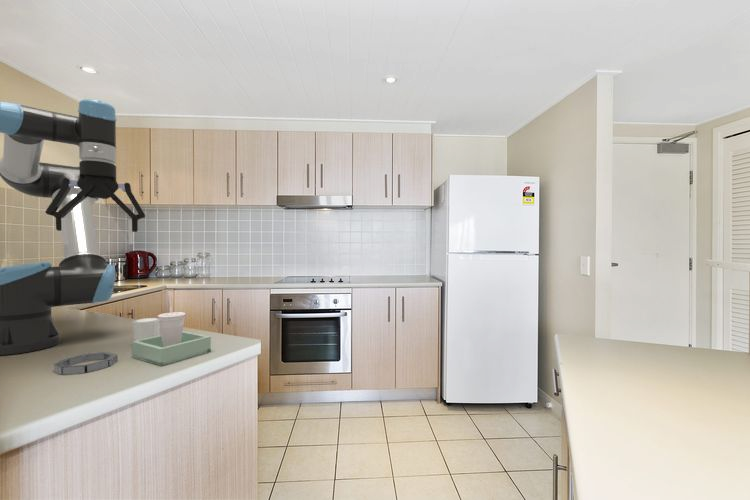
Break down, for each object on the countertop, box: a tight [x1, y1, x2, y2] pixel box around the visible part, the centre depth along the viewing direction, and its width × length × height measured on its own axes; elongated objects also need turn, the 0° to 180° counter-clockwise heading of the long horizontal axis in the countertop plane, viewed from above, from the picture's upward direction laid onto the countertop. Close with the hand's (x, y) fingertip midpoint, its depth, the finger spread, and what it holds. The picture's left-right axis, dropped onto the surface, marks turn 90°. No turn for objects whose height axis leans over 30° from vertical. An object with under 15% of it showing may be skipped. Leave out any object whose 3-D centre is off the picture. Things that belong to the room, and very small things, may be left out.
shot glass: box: [132, 317, 161, 341], centre depth 101 cm, size 7×7×7 cm
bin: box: [131, 330, 212, 367], centre depth 91 cm, size 13×13×4 cm
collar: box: [53, 351, 118, 376], centre depth 83 cm, size 11×11×2 cm
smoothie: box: [157, 296, 186, 347], centre depth 91 cm, size 6×6×14 cm
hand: (99, 244), depth 91 cm, fingers open, 13 cm apart
